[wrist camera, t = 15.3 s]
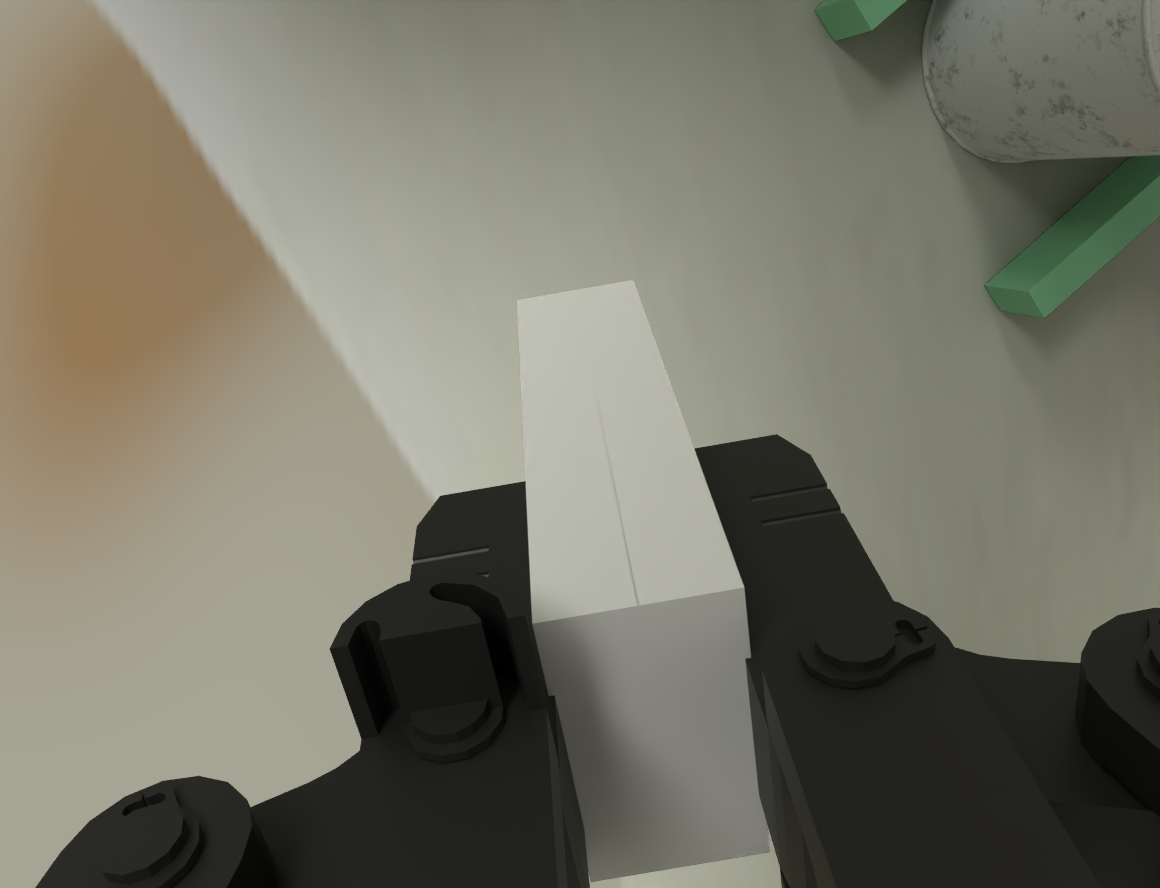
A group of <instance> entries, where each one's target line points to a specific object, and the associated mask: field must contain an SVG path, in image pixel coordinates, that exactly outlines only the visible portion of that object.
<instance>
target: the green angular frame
mask: <svg viewBox="0 0 1160 888" xmlns="http://www.w3.org/2000/svg"><path fill="white" fill-rule="evenodd" d="M906 1H907V0H826V1H824V2H823V3H822V4H821V5H820V6H819V7H817V8H816V9H815V11H816V13H817V15H818V16H819V18H820V20H821V21H822V23H823V24H824V26H825V28H826V29H827V31H828V32H829V34H830V36H831V37H832V39H833V41H837V40H841V39H844V38H848V37H851V36H855V35H858V34H862V33H865V32H869V31H872V30H873V29H874V28H876V27H877V26H878V25H879V24H880V23H881V22H882V21H884V20H885V19H886V18H887V17H888V16H889V15H891V14H892V13H893V12H894V11H895V10H896V9H897V8H899V7H900V6H901V5H902V4H903V3H904V2H906ZM1159 216H1160V155H1149V156H1130V157H1129V158H1128V159H1127V160H1126V161H1125V162H1124V163H1123V164H1121V165H1120V166H1119V167H1118V168H1117V169H1116V170H1115V171H1113V172H1112V173H1111V174H1110V175H1109V176H1108V177H1107V178H1106V179H1104V180H1103V181H1102V182H1101V183H1100V184H1099V185H1098V186H1096V187H1095V188H1094V189H1093V190H1092V191H1091V192H1090V193H1089V194H1087V195H1086V196H1085V197H1084V198H1083V199H1082V200H1081V201H1079V202H1078V203H1077V204H1076V205H1075V206H1074V207H1073V208H1072V209H1070V210H1069V211H1068V212H1067V213H1066V214H1065V215H1064V216H1062V217H1061V218H1060V219H1059V220H1058V221H1057V222H1056V223H1055V224H1053V225H1052V226H1051V227H1050V228H1049V229H1048V230H1047V231H1045V232H1044V233H1043V234H1042V235H1041V236H1040V237H1039V238H1038V239H1036V240H1035V241H1034V242H1033V243H1032V244H1031V245H1030V246H1028V247H1027V248H1026V249H1025V250H1024V251H1023V252H1022V253H1021V254H1019V255H1018V256H1017V257H1016V258H1015V259H1014V260H1013V261H1011V262H1010V263H1009V264H1008V265H1007V266H1006V267H1005V268H1004V269H1002V270H1001V271H1000V272H999V273H998V274H997V275H996V276H994V277H993V278H992V279H991V280H990V281H989V282H988V283H987V284H985V287H986V289H987V290H988V292H989V293H990V295H991V297H992V298H993V300H994V301H995V303H996V305H997V306H998V308H999V310H1001V311H1006V312H1012V313H1018V314H1023V315H1029V316H1035V317H1040V318H1045V317H1046V316H1047V315H1049V314H1050V313H1051V312H1052V311H1053V310H1054V309H1055V308H1056V307H1058V306H1059V305H1060V304H1061V303H1062V302H1063V301H1064V300H1066V299H1067V298H1068V297H1069V296H1070V295H1071V294H1072V293H1073V292H1075V291H1076V290H1077V289H1078V288H1079V287H1080V286H1081V285H1082V284H1084V283H1085V282H1086V281H1087V280H1088V279H1089V278H1090V277H1091V276H1093V275H1094V274H1095V273H1096V272H1097V271H1098V270H1099V269H1101V268H1102V267H1103V266H1104V265H1105V264H1106V263H1107V262H1108V261H1110V260H1111V259H1112V258H1113V257H1114V256H1115V255H1116V254H1117V253H1119V252H1120V251H1121V250H1122V249H1123V248H1124V247H1125V246H1126V245H1128V244H1129V243H1130V242H1131V241H1132V240H1133V239H1134V238H1136V237H1137V236H1138V235H1139V234H1140V233H1141V232H1142V231H1143V230H1145V229H1146V228H1147V227H1148V226H1149V225H1150V224H1151V223H1152V222H1154V221H1155V220H1156V219H1157V218H1158V217H1159Z"/></svg>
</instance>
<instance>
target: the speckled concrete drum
mask: <svg viewBox="0 0 1160 888" xmlns="http://www.w3.org/2000/svg"><path fill="white" fill-rule="evenodd" d="M921 61H922V70H923V79H924V86H925V89H926V92H927V95H928V98H929V101H930V104H931V107H932V110H933V111H934V113H935V115H936V116H937V118H938V120H939V122H940V123H941V125H942V127H943V128H944V130H945V131H946V132H947V133H948V134H949V135H950V136H951V137H952V138H953V139H954V140H955V141H956V142H957V143H958V144H959V145H960V146H961V147H963V148H964V149H966V150H968V151H969V152H971V153H973V154H974V155H976V156H977V157H980V158H983V159H987V160H990V161H994V162H997V163H1024V162H1028V161H1031V160H1052V159H1076V158H1100V157H1125V156H1149V155H1160V0H933V1H932V3H931V5H930V8H929V12H928V16H927V20H926V23H925V27H924V31H923V42H922V55H921Z"/></svg>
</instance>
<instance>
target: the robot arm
mask: <svg viewBox="0 0 1160 888" xmlns="http://www.w3.org/2000/svg"><path fill="white" fill-rule="evenodd" d="M517 312H518V333H519V354H520V375H521V397H522V418H523V439H524V460H525V481H524V482H519V483H513V484H507V485H501V486H495V487H490V488H484V489H478V490H472V491H466V492H461V493H455V494H449V495H443V496H440V497H439V498H438V500H437V501H436V502H435V503H434V505H433V506H432V507H431V509H430V510H429V511H428V513H427V514H426V515H425V517H424V518H423V519H422V521H421V522H420V523H419V525H418V526H417V530H416V538H415V545H414V552H413V563H414V564H413V565H412V568H411V575H410V581H407V582H404V583H401V584H397V585H396V586H394V587H392V588H390V589H388V590H386V591H384V592H383V593H381V594H379V595H377V596H375V597H373V598H372V599H370V600H368V601H366V602H365V603H364V604H363V605H362V606H361V607H360V608H359V609H358V610H356V612H354V613H353V614H352V615H351V616H350V617H349V618H348V619H347V620H346V621H345V622H344V623H343V624H342V625H341V627H340V629H339V631H338V633H337V635H336V637H335V639H334V641H333V643H332V645H331V647H330V651H331V654H332V656H333V659H334V662H335V665H336V668H337V670H338V674H339V677H340V679H341V682H342V685H343V688H344V691H345V693H346V696H347V699H348V702H349V705H350V707H351V710H352V713H353V716H354V719H355V722H356V724H357V727H358V730H359V733H360V736H361V739H362V740H361V746H360V751H359V752H358V753H356V754H355V755H354V756H352V757H351V758H350V759H348V760H347V761H345V762H344V763H343V764H341V765H340V766H339V767H337V768H336V769H334V770H332V771H330V772H328V773H326V774H324V775H322V776H321V777H319V778H317V779H315V780H313V781H311V782H309V783H307V784H304V785H302V786H300V787H297V788H295V789H293V790H290V791H288V792H285V793H283V794H281V795H279V796H276V797H274V798H272V799H269V800H267V801H265V802H262V803H260V804H257V805H255V806H253V807H250V806H249V803H248V801H247V799H246V798H245V797H243V795H241V794H240V793H239V792H238V791H237V790H236V789H235V788H234V787H233V786H231V785H230V784H229V783H228V782H225V781H220V780H215V779H210V778H206V777H201V776H195V777H188V778H181V779H174V780H167V781H162V782H159V783H157V784H155V785H152V786H150V787H147V788H145V789H143V790H140V791H138V792H135V793H133V794H130V795H128V796H126V797H124V798H122V799H121V800H120V801H118V802H117V803H115V804H114V805H112V806H111V807H109V808H108V809H106V810H105V811H104V812H102V813H101V814H99V815H98V816H96V817H95V818H93V819H92V820H90V821H89V822H88V824H86V826H85V827H84V828H83V829H82V830H81V831H80V832H79V833H78V834H77V835H76V836H75V837H74V838H73V840H72V841H71V842H70V843H69V844H68V845H67V846H66V847H65V848H64V849H63V850H62V851H61V853H60V854H59V856H58V857H57V858H56V860H55V861H54V862H53V864H52V865H51V867H50V868H49V870H48V871H47V872H46V874H45V875H44V877H43V878H42V879H41V881H40V882H39V884H38V885H37V886H36V888H590V885H589V876H590V880H591V882H594V881H600V880H606V879H612V878H618V877H624V876H630V875H636V874H642V873H648V872H654V871H660V870H666V869H672V868H678V867H684V866H690V865H696V864H702V863H708V862H714V861H720V860H726V859H732V858H738V857H743V856H749V855H755V854H761V853H767V852H770V847H769V837H768V828H769V831H770V835H771V838H772V841H773V845H774V848H775V852H776V855H777V859H778V862H779V865H780V872H781V883H782V888H1160V608H1151V609H1146V610H1141V611H1136V612H1131V613H1126V614H1121V615H1117V616H1116V617H1114V618H1113V619H1111V620H1109V621H1108V622H1106V623H1104V624H1103V625H1101V626H1100V627H1098V628H1096V629H1095V630H1093V631H1092V633H1091V635H1090V637H1089V639H1088V641H1087V643H1086V645H1085V647H1084V649H1083V651H1082V653H1081V663H1068V662H1052V661H1035V660H1019V659H1007V658H1000V657H993V656H985V655H979V654H976V653H972V652H969V651H965V650H962V649H959V648H955V647H954V646H953V645H952V643H951V641H950V640H949V638H948V637H947V636H946V635H945V634H944V633H943V632H942V631H941V630H940V629H939V628H938V627H937V626H936V625H935V624H934V623H933V622H932V621H931V620H930V619H929V617H927V616H925V615H923V614H921V613H919V612H917V611H915V610H913V609H911V608H909V607H907V606H905V605H903V604H901V603H899V602H894V601H893V599H892V597H891V596H890V594H889V592H888V590H887V589H886V587H885V585H884V583H883V582H882V580H881V578H880V576H879V575H878V573H877V571H876V569H875V567H874V566H873V564H872V562H871V560H870V559H869V557H868V555H867V553H866V552H865V550H864V548H863V546H862V545H861V543H860V541H859V539H858V538H857V536H856V534H855V532H854V531H853V529H852V527H851V525H850V524H849V522H848V520H847V518H846V516H845V515H844V513H843V514H841V510H840V506H839V504H838V502H837V501H836V499H835V497H834V495H833V494H832V492H831V490H830V489H828V488H827V483H826V481H825V480H824V478H823V476H822V474H821V473H820V471H819V469H818V467H817V466H816V464H815V462H814V460H813V458H812V457H811V455H810V454H808V453H806V452H805V451H803V450H801V449H800V448H798V447H797V446H795V445H793V444H792V443H790V442H788V441H787V440H785V439H784V438H782V437H780V436H779V435H777V434H776V435H771V436H765V437H759V438H753V439H747V440H742V441H736V442H730V443H724V444H718V445H713V446H707V447H701V448H695V449H694V447H693V444H692V441H691V439H690V436H689V433H688V430H687V427H686V425H685V422H684V419H683V416H682V414H681V411H680V408H679V405H678V403H677V400H676V397H675V394H674V391H673V389H672V386H671V383H670V380H669V378H668V375H667V372H666V369H665V367H664V364H663V361H662V358H661V355H660V353H659V350H658V347H657V344H656V342H655V339H654V336H653V333H652V331H651V328H650V325H649V322H648V319H647V317H646V314H645V311H644V308H643V306H642V303H641V300H640V297H639V294H638V292H637V289H636V286H635V283H634V281H633V280H630V281H624V282H618V283H612V284H607V285H601V286H595V287H589V288H584V289H578V290H572V291H566V292H561V293H555V294H549V295H544V296H538V297H532V298H526V299H521V300H517ZM767 824H768V826H767ZM588 872H589V874H588Z"/></svg>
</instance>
